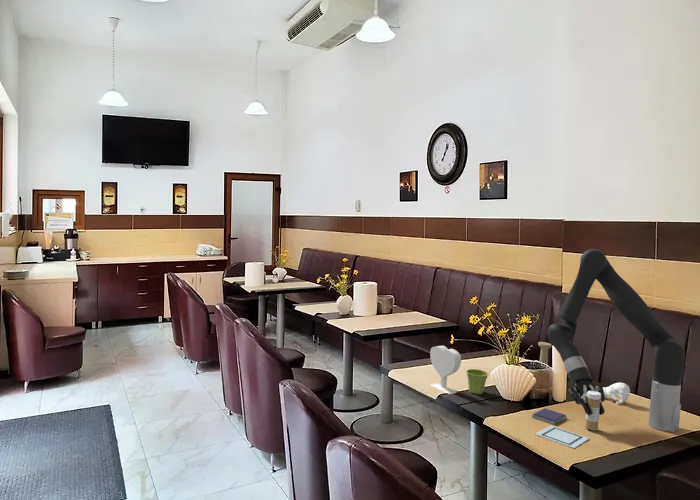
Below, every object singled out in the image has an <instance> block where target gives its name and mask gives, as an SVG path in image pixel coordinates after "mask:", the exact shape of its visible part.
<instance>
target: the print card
mask: <svg viewBox="0 0 700 500" xmlns="http://www.w3.org/2000/svg"><path fill="white" fill-rule="evenodd" d="M534 435H535V436H538V437H540V438H543V439H545V440H549V441H551V442H553V443H557V444H559V445H562V446H565V447H568V448H571V449H573V450H574V449H577V448H578V447H580V446H581V445H582V444H584V443H586V441H589V440H590V438H589V437H587V436H584V435H581V434H578V433H575V432H572V431H569V430H566V429H563V428H560V427H557V426H556V425H553V424H550V425H548V426H546V427H545V428H543V429H541V430H539V431H537V432H535V433H534Z"/></svg>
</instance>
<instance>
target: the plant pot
mask: <svg viewBox="0 0 700 500" xmlns="http://www.w3.org/2000/svg"><path fill="white" fill-rule="evenodd" d="M465 373H466V375H467V382H468V384H467V385H468V392H469V393H470V394H475V395H483V393H484V390H485V387H486V386H485V385H486V381H487V379H488V376H489V372H488V371H486V370H482V369H475V368H469V369H466V370H465Z"/></svg>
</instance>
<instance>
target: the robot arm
mask: <svg viewBox="0 0 700 500" xmlns="http://www.w3.org/2000/svg"><path fill="white" fill-rule="evenodd" d="M579 260H580V261H579V268H578V271H577V274H576V278H575V280H574V282H573V285H572V287H571V288H570V291H569V292H568V294H567V296H566V298H565V300H564V303H563V304H562V307H561V309H560V312H559V317H560V318H561V319H562V320H563V322H562V324H560V323H552V324H550V325H549V327H547V328H548V329H547V337H548V339H549V341H550V344H552V345H553V348H555V350H556V351H557V353H559V355H560V358H561V360H562V363H563V366H564V370H565V371H566V374H567V376H568V378H569V381H570V383H571V385H572V386H573V387H572V386H571V387H570V388H569V389H568V390H567V393H568V394H569V395H570V396H571V398H572V400H573V401H574V402H575V404H576V405H581V406H582V407H583V410H584V413H585V415H586V414H587V415H591V414H592V410H591V408H590V406H589V404H587V392H588V391H597V392H599V393H601V399H600V410H599V416H601V415H604V414H605V411H606V409H605V408H604V406H603V402H605V401H606V398H605V396H604V391H603V386H602V385H600V386H599V385H598V386H597V385H595V383H593V377H592V376H591V375H592V374H591V373H590V370H589V368H588V367H587V365H586V362H585V360H584V359H583V357H582V355H581V353H580V350H579V349H578V347H577V346H576V345H575V344H574V343H572V341H573V340H574V338H575V336H576V332H577V325H578V320H579V318H580V315H581V313H582V310H583V309H584V306H585V304H586V302H587V299H588V295H589V294H590V291H591V289H592V287H593V285H594V283H595V281H597V282H598V283H599V284H600V285H601V287H602V288H603V289H604V292H605V293H606V296H608V298H609V300H610V301H611V303H612V304H613V305H614V307H615V308H616V309H617V311H618V312H619V313H620V314H621V315H622V317H624V319H625V320H626V321H627V322H628V323H629V324H630V325H632V326H633V327H634V328H635V329H636V330H637V331H639V333H641V335H643V337H644V338H645V340H646V341H647V342H648V343H649V345H650V347H651V348H652V350H653V352H654V354H655V359H654V368H653V371H652V379H651V380H652V381H651V391H650V401H649V402H650V403H649V412H648V413H649V414H648V425H649V426H650V427H651V428H654V429H656V430H660V431H664V432H671V433H675V432H676V431H679V429H680V419H681V409H682V408H681V407H682V404H681V402H680V398H681V389H682V380H683V378H684V371H685V362H686V361H685V360H686V352H685V349H684V347H683V346H682V344H681V343H680V342H679V341H678V340H677V339H676V338H675V337H674V336H673V335H672V334H670V333H669V332H668V331H667V330H666V328H664V326H663V325H662V324H661V323H660V322H659V320H658V319H657V317H656V316H655V314H654V312H653V311H652V310H651V309H650V307H649V306H648V304H647V303H646V302H645V300H644V299H643V298H642V297H641V296H640V295H639V293H637V291H636V290H635V289H634V288H633V287H632V286H631V285H630V284H629V283H628V282H626V280H625V279H623V277H621V276H620V275H619V274H618V272H617V271H616V270H615V268H614V267H613V266H612V264H611V263H610V261H609V260H608V259H607V257H606V255H605V253H604V252H603V251H601V250H600V249H597V248H589V249H587V250H586V251H584V252H583V253H582V254H581V256H580V259H579Z"/></svg>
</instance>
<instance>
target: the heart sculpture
mask: <svg viewBox="0 0 700 500" xmlns="http://www.w3.org/2000/svg"><path fill="white" fill-rule="evenodd" d="M429 355H430V362H431V365H432V366H433V368H434V370H435V372H436V373H437V374H438V375H439V377H440V383H432V384H430V387H432V388H435V389H437V390H439V391H441V392H444V393H447V394H449V395H450V394H456V393H458V391H456V390H454V389H451V388H450V387H447V385H448V384H447V383H448V382H447V380H448V377H449V376H451V375H454V374H455V373H456V372H458V371H459V369H460V367H461V363H462V355H461V354H460V352H458V350H456V349H453V348H449V349H448V347H446V346H445V345H437V346H432V347H431V348H430V352H429Z"/></svg>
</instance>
